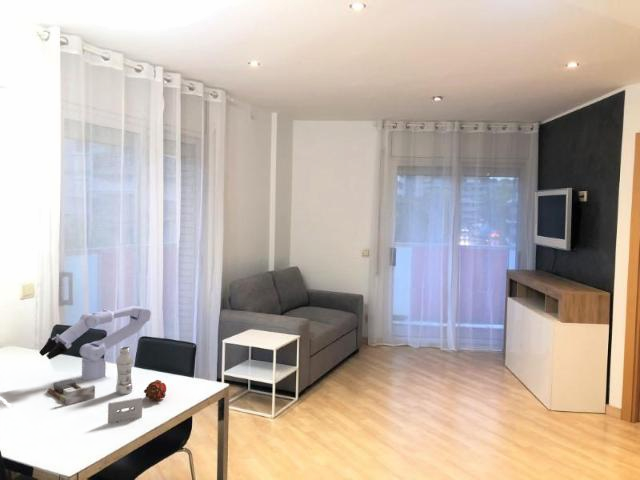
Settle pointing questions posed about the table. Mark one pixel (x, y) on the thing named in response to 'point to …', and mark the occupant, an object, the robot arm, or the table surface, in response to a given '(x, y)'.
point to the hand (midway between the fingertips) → (44, 355)
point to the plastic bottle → (124, 372)
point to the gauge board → (75, 394)
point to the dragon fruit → (155, 390)
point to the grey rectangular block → (64, 385)
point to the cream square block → (67, 390)
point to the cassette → (124, 415)
